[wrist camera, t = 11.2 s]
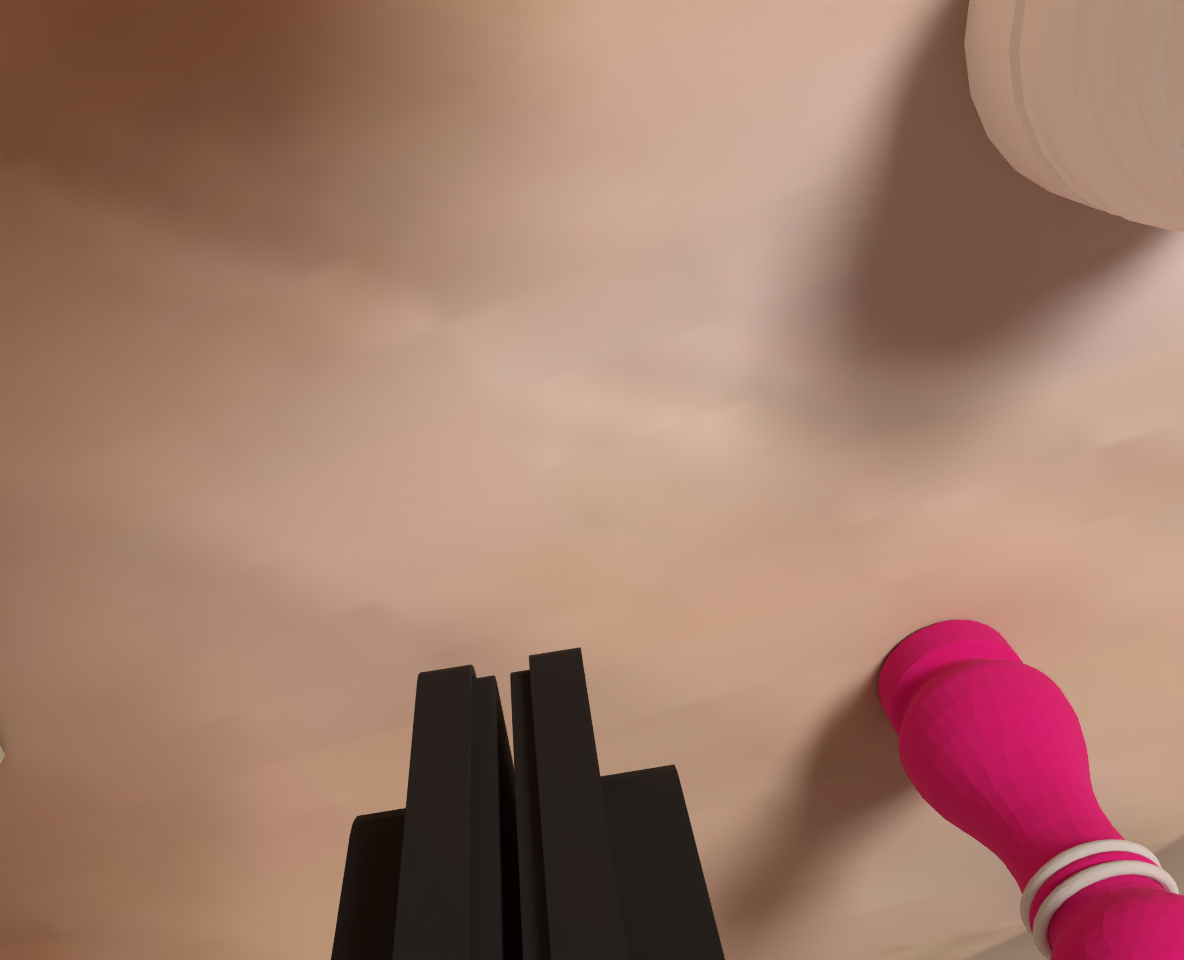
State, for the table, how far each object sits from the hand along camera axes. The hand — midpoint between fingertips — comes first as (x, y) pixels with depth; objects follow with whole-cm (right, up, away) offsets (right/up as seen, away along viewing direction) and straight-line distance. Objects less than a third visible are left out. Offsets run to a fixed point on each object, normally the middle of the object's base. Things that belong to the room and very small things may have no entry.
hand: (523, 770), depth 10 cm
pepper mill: (+17, -6, +35) cm, 40 cm away
